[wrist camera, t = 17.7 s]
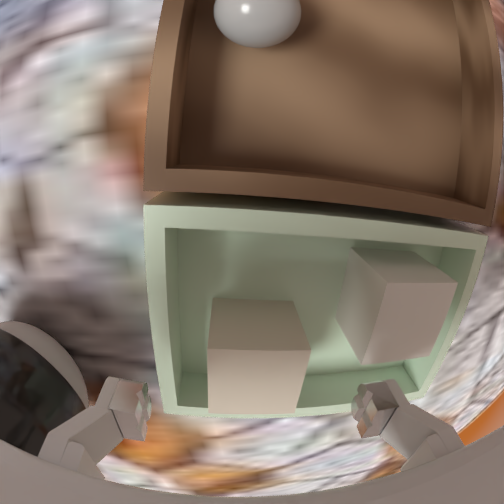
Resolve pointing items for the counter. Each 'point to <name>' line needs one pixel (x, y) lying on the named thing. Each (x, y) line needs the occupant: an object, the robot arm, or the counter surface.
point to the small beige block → (392, 304)
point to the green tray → (285, 286)
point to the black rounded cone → (36, 386)
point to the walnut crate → (333, 107)
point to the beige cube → (255, 357)
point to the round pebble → (257, 21)
